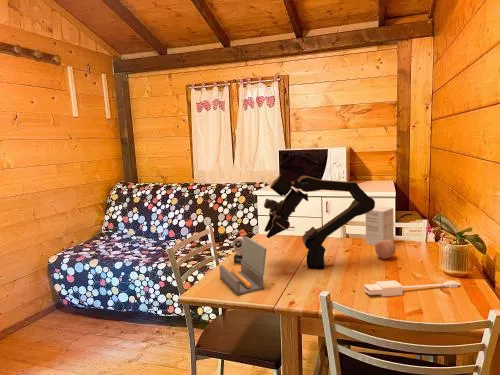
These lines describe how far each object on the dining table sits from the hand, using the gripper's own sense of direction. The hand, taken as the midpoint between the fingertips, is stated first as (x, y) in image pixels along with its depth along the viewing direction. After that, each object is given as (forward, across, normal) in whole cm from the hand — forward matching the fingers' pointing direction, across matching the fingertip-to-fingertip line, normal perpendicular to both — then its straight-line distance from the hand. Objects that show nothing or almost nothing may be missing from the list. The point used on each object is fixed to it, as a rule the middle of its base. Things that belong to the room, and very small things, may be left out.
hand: (266, 234), depth 142 cm
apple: (-21, -3, +47) cm, 52 cm away
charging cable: (-18, +28, +44) cm, 55 cm away
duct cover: (+8, +10, -2) cm, 13 cm away
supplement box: (-25, -24, +52) cm, 62 cm away
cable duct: (+18, +12, +1) cm, 22 cm away
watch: (+18, -11, +2) cm, 21 cm away
